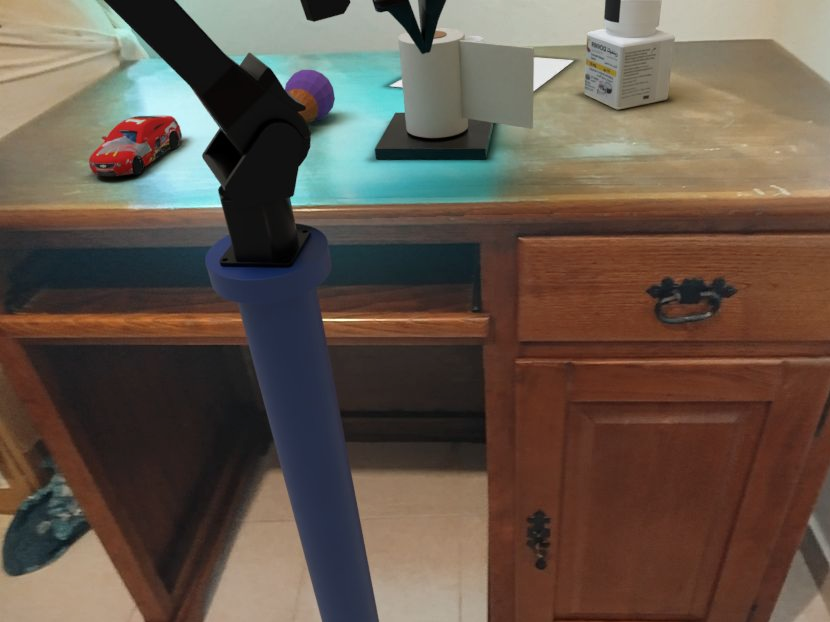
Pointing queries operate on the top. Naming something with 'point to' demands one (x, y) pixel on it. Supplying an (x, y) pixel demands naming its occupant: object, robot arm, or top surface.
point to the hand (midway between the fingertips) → (425, 50)
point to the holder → (434, 142)
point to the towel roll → (464, 84)
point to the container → (629, 55)
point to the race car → (135, 145)
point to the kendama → (312, 93)
